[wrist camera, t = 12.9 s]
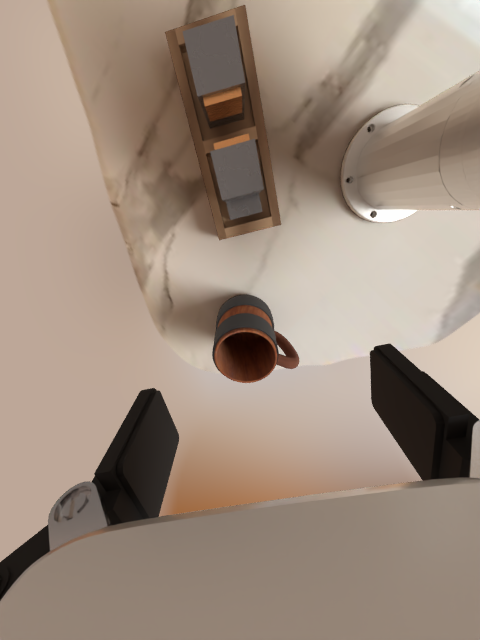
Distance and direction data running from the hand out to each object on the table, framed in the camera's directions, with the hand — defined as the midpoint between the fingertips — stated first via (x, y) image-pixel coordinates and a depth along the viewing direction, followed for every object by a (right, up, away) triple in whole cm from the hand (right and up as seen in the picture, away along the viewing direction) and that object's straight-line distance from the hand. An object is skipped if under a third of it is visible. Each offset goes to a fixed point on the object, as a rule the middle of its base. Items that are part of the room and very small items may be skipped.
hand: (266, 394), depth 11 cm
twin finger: (-1, +19, +20) cm, 28 cm away
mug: (+1, +3, +30) cm, 30 cm away
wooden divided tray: (-2, +25, +20) cm, 32 cm away
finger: (-3, +28, +17) cm, 33 cm away
